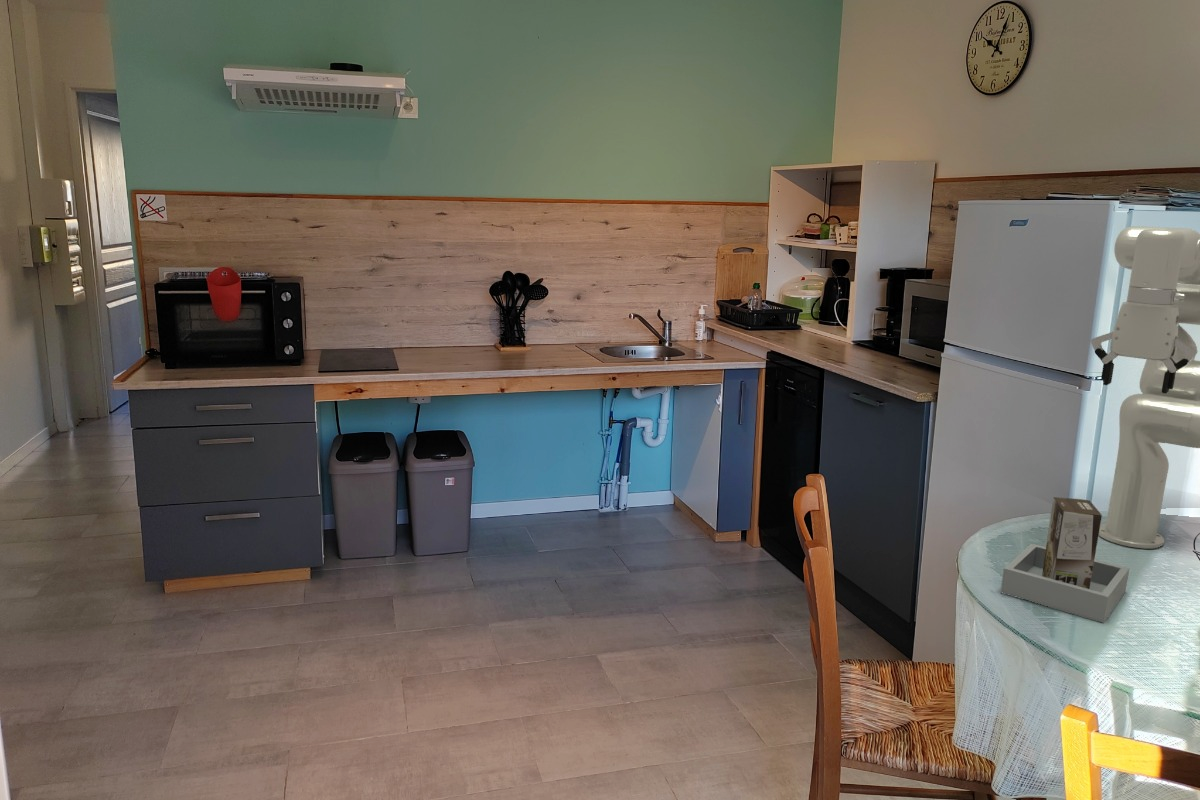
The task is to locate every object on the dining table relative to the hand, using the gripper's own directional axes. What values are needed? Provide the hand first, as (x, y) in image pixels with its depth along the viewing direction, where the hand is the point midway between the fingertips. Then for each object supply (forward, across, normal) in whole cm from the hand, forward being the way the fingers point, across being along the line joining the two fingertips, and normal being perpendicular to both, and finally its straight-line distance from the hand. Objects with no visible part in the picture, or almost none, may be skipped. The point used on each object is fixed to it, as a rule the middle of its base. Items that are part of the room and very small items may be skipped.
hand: (1135, 388), depth 171 cm
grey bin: (+36, +3, +19) cm, 41 cm away
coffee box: (+36, +3, +19) cm, 40 cm away
